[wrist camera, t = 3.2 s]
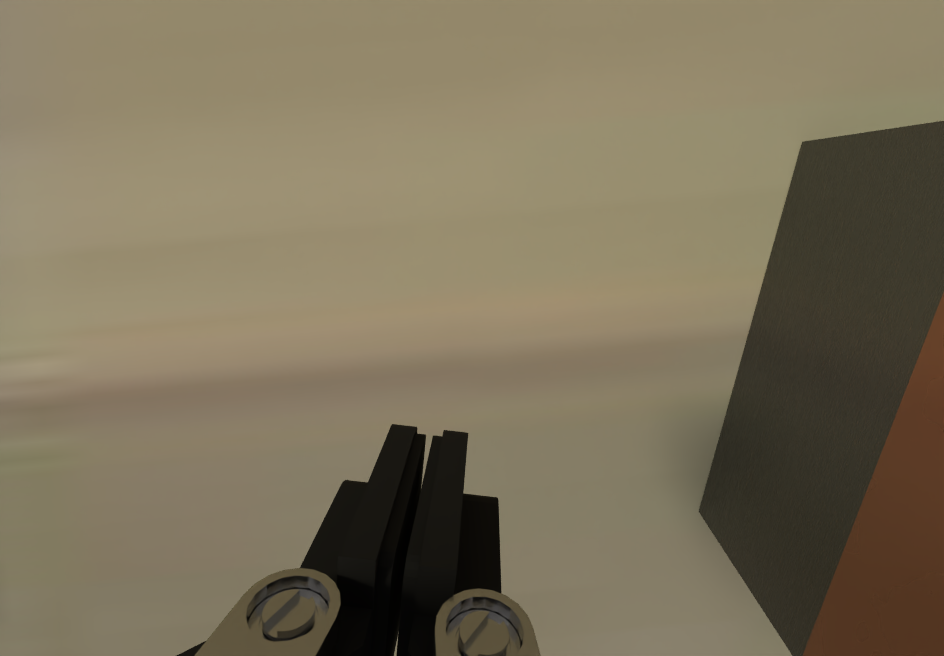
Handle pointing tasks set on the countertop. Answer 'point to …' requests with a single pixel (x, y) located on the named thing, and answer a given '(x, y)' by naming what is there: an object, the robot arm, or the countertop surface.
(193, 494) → the countertop surface
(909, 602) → the lid
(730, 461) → the cooker base
